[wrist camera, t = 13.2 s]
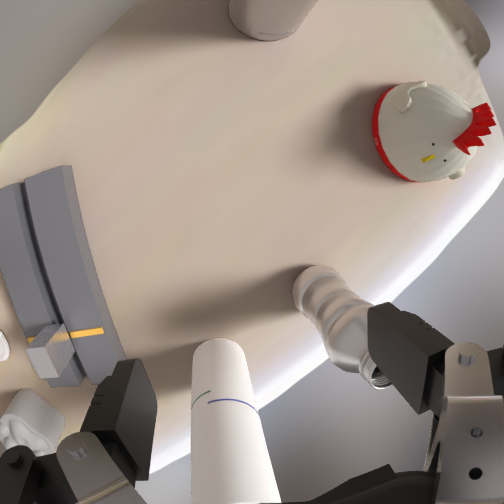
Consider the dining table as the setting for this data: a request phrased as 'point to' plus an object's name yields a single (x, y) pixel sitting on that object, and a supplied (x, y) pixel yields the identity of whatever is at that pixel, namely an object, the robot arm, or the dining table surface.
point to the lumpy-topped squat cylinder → (31, 423)
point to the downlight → (3, 348)
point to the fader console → (56, 273)
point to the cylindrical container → (227, 430)
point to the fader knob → (51, 351)
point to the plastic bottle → (338, 321)
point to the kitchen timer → (428, 131)
